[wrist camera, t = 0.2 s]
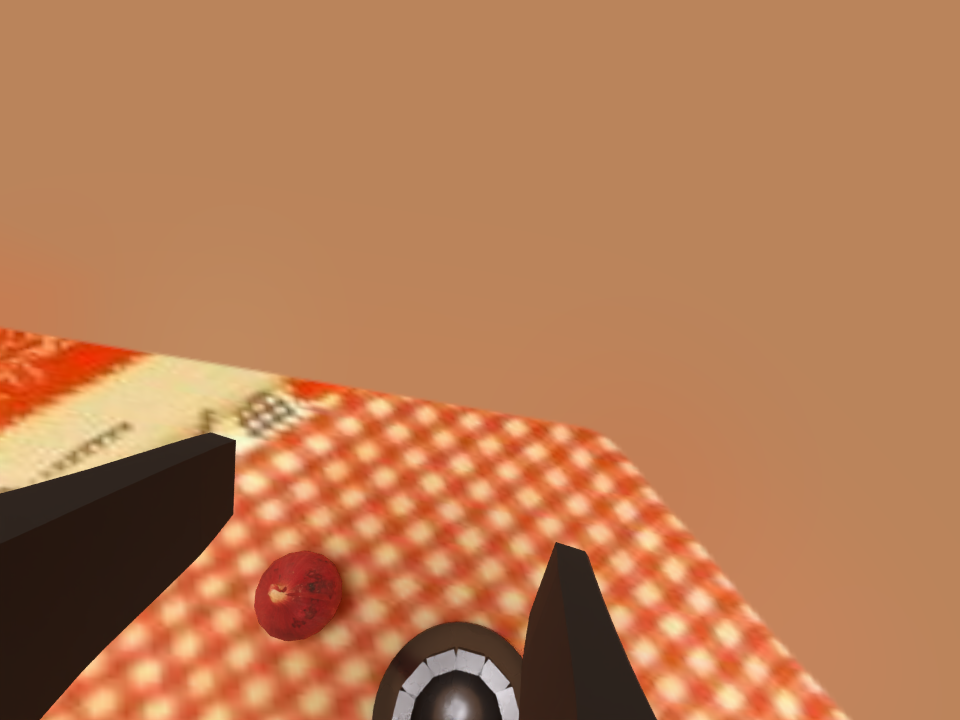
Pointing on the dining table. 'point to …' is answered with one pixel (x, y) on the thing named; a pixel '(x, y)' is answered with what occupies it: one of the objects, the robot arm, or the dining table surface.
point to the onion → (298, 595)
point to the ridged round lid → (452, 677)
